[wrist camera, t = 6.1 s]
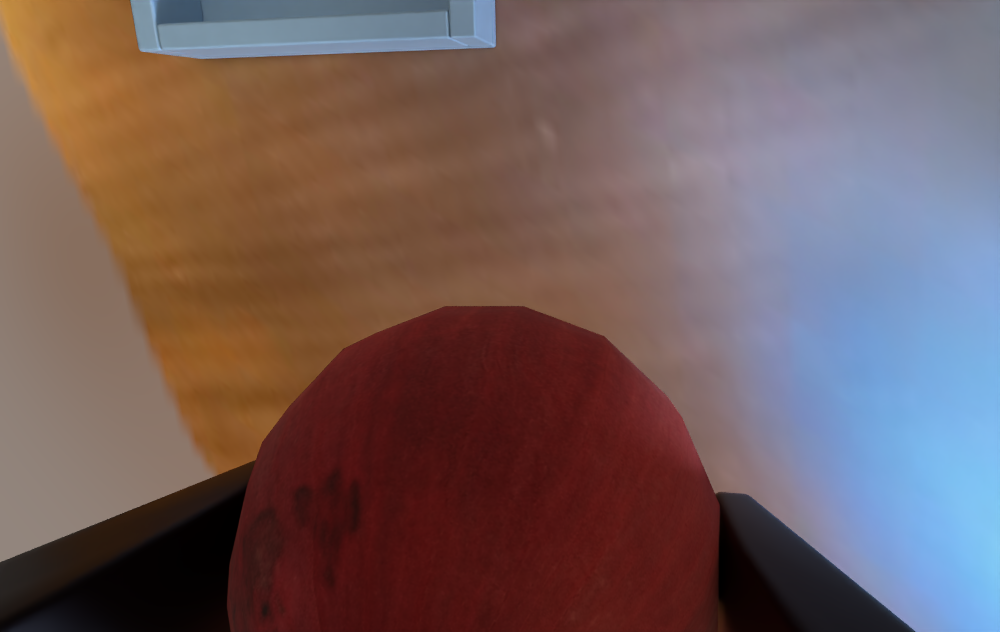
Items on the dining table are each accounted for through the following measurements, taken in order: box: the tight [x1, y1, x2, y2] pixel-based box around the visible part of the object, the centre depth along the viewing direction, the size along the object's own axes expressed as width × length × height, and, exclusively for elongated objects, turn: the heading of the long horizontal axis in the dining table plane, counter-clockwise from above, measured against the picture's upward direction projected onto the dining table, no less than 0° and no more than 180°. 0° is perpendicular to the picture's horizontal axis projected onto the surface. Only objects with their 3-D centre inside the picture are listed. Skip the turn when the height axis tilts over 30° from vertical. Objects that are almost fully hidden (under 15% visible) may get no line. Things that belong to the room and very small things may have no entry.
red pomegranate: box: [227, 306, 720, 632], centre depth 8 cm, size 6×6×8 cm
